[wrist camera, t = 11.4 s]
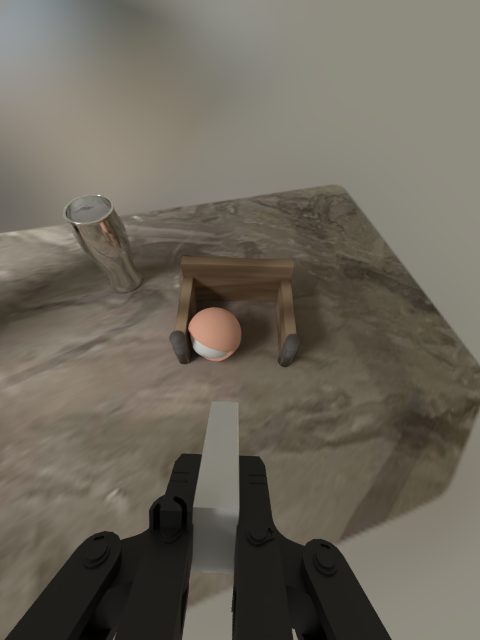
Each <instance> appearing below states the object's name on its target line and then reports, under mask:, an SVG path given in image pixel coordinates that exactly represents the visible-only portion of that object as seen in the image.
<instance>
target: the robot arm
mask: <svg viewBox="0 0 480 640" xmlns="http://www.w3.org/2000/svg"><path fill="white" fill-rule="evenodd" d="M190 571H191V572H206V573H232V574H234V586H233V600H232V612H233V619H232V620H233V621H232V623H233V624H232V640H293V634H292V628H293V629H295V632H296V635H297V638H298V640H392V639H391V638H390V636H389V634H388V632H387V631H386V629H385V627H384V626H383V624H382V622H381V620H380V619H379V617H378V615H377V613H376V612H375V610H374V608H373V607H372V605H371V603H370V601H369V600H368V598H367V596H366V594H365V593H364V591H363V589H362V587H361V586H360V584H359V582H358V580H357V579H356V577H355V575H354V573H353V572H352V570H351V568H350V567H349V565H348V563H347V561H346V559H345V558H344V556H343V555H342V553H341V552H340V551H339V550H338V548H337V547H335V546H334V545H333V544H331V543H330V542H328V541H325V540H322V539H313V540H311V541H309V542H307V544H306V545H305V546H303V545H300V544H298V543H295V542H293V541H291V540H289V539H287V538H285V537H284V536H283V535H282V534H281V533H280V532H279V531H278V530H277V529H276V527H275V525H274V523H273V519H272V513H271V505H270V498H269V491H268V485H267V477H266V469H265V465H264V463H263V461H262V460H261V458H260V457H259V456H239V426H238V402H220V401H212V403H211V409H210V414H209V420H208V426H207V431H206V437H205V442H204V448H203V454H182V455H181V456H180V457H179V458H178V459H177V460H176V461H175V464H174V467H173V470H172V474H171V477H170V481H169V483H168V487H167V490H166V493H165V495H163V496H161V497H159V498H158V499H157V500H156V501H155V502H154V503H153V504H152V506H151V508H150V509H149V529H147V530H146V531H144V532H143V533H141V534H138V535H136V536H133V537H129V538H126V539H122V540H120V538H119V536H118V535H116V534H115V533H113V532H107V531H104V532H100V533H96V534H94V535H92V536H91V537H89V538H87V539H86V540H85V541H84V542H83V543H82V544H81V545H80V546H79V547H78V548H77V549H76V550H75V552H74V553H73V554H72V555H71V557H70V558H69V559H68V560H67V562H66V563H65V564H64V566H63V567H62V568H61V569H60V571H59V572H58V573H57V574H56V576H55V577H54V578H53V579H52V581H51V582H50V583H49V584H48V586H47V587H46V588H45V589H44V591H43V592H42V593H41V594H40V596H39V597H38V598H37V600H36V601H35V602H34V603H33V605H32V606H31V607H30V608H29V610H28V611H27V612H26V613H25V615H24V616H23V617H22V618H21V620H20V621H19V622H18V623H17V625H16V626H15V627H14V629H13V630H12V631H11V632H10V634H9V635H8V636H7V637H6V639H5V640H113V638H114V636H115V634H116V636H115V639H114V640H182V635H183V628H184V621H185V614H186V607H187V600H188V593H189V578H190ZM116 632H117V633H116Z"/></svg>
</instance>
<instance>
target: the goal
mask: <svg viewBox="0 0 480 640" xmlns="http://www.w3.org/2000/svg"><path fill="white" fill-rule="evenodd" d="M180 264H181V268H182V272H183V283H182V289H181V295H180V301H179V307H178V313H177V318H176V324H175V330H174V331H173V332H172V333H171V334H170V337H169V339H170V341H171V344H172V346H173V349H174V351H175V353H176V356H177V358H178V360H179V363H181V364H187V363H189V362H190V361H191V354H190V353H191V345H192V343H191V340H190V332H189V329H188V325H189V323H190V321H191V320H192V318H193V317H194V316H195V313H196V305H197V300H226V301H258V302H276V314H277V329H278V344H279V358H278V363H279V364H280V365H281V366H283V367H287V366H289V365H290V364H291V362H292V360H293V358H294V356H295V354H296V352H297V350H298V348H299V346H300V344H301V339H300V337H299V336H298V335H297V334H296V325H295V316H294V307H293V298H292V289H291V277H292V274H293V270H294V260H280V259H251V258H221V257H192V256H182V258H181V263H180Z"/></svg>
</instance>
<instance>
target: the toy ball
mask: <svg viewBox="0 0 480 640" xmlns="http://www.w3.org/2000/svg"><path fill="white" fill-rule="evenodd" d="M188 329H189V332H190V340H191V343H192V346H193V348H194V350H195V351H196V352H197V353H198V354H199V355H201V356H203V357H204V358H206V359H208V360H211V361H221V360H224V359H226V358H228V357H229V356H231V355H232V354H233V353H234V352H235V351H236V349H237V348H238V347H239V345H240V342H241V327H240V324H239V322H238V320H237V319H236V317H235V316H234V315H233V314H232V313H230V312H229V311H227V310H225V309H222V308H217V307H212V308H207V309H204V310H202V311H200V312H199V313H197V314H196V315H195V316H194V317H193V318H192V320H191V321H190V323H189V325H188Z"/></svg>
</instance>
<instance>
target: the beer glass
mask: <svg viewBox="0 0 480 640" xmlns="http://www.w3.org/2000/svg"><path fill="white" fill-rule="evenodd" d="M63 216H64V218H65V219H66V222H67V223H68V225H69V227H70V229H71V231H72V233H73V235H74V237H75V238H76V240H77V242H78V243H79V245H80V246H81V248H82V249H83V250H84V252H85V253H86V254H87V255H88V256H89V257H90V258H91V259H92V260H93V262H94V263H95V264H96V265H97V266H98V267H99V268H100V269H101V270H102V271H103V273H104V274H105V276H106V279H107V282H108V285H109V287H110V288H111V289H112V290H113V291H115V292H118V293H127V292H130V291H133V290H135V289H136V288H137V287H138V286H139V285H140V284H141V282H142V274H141V272H140V270H139V269H138V268H137V266H136V265H135V263H134V261H133V257H132V253H131V247H130V242H129V238H128V234H127V232H126V229H125V226H124V224H123V222H122V220H121V218H120V216H119V214H118V212H117V210H116V208H115V206H114V204H113V202H112V200H111V199H110V198H108V197H106V196H104V195H99V194H89V195H84V196H80V197H77V198H75V199H73V200H72V201H70V202H69V203H68V204H67V205H66V206H65V207H64V210H63Z"/></svg>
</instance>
